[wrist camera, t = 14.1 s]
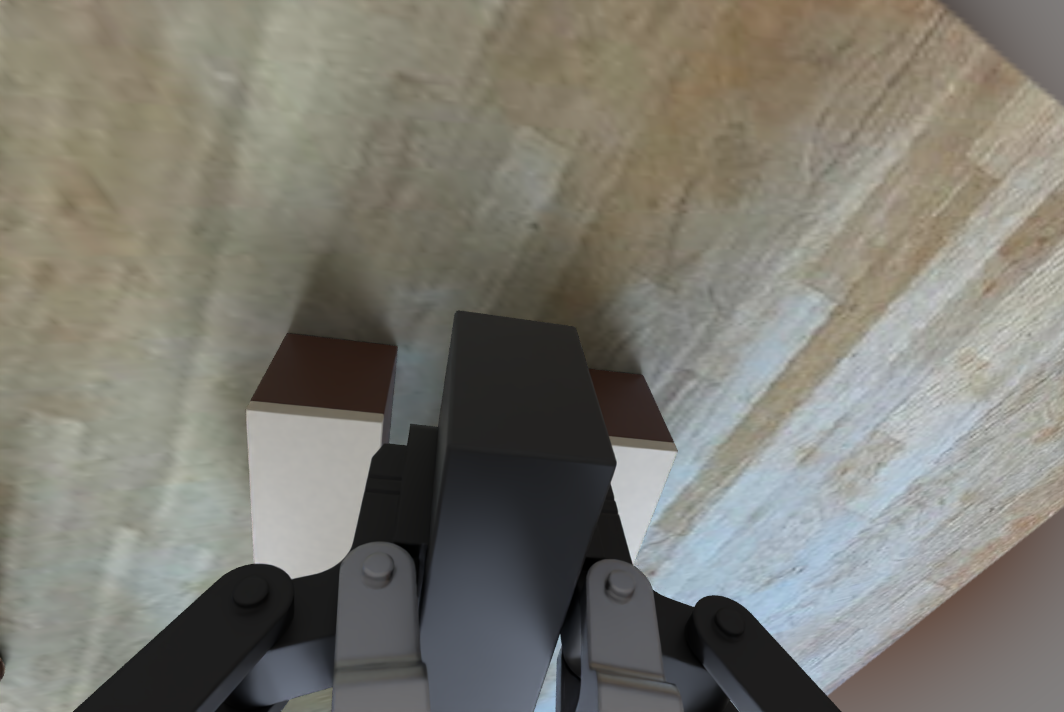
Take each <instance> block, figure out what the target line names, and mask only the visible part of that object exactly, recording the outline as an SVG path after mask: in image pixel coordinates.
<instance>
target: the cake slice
mask: <svg viewBox="0 0 1064 712" xmlns="http://www.w3.org/2000/svg"><path fill="white" fill-rule="evenodd" d="M397 351H398V347H397V346H393V345H384V344H376V343H367V342H359V341H350V340H342V339H333V338H325V337H316V336H308V335H299V334H291V333H287V334H286V336H285V338H284V339H283V341H282V343H281V345H280V347H279V349H278V351H277V352H276V354H275V356H274V358H273V360H272V362H271V364H270V365H269V367H268V369H267V371H266V373H265V375H264V376H263V378H262V380H261V382H260V384H259V386H258V388H257V389H256V391H255V393H254V395H253V397H252V399H251V401H250V403H249V404H248V406H247V408H246V425H247V444H248V463H249V482H250V501H251V520H252V539H253V558H254V564H260V563H261V564H269V565H274V566H276V567H279V568H281V569H282V570H284V571H285V572H286V573H287V574H288V575H289V576H290V578H291V579H294V578H299V577H303V576H308V575H313V574H317V573H321V572H323V571H326V570H328V569H330V568H332V567H334V566H335V565H336V564H338V563H339V562H340V561H341V560H342V559H344V558H345V556H346V555H347V554H348V552H349V551H350V549H351V547H352V543H353V540H354V535H355V531H356V526H357V522H358V517H359V513H360V508H361V504H362V499H363V495H364V491H365V486H366V481H367V478H368V472H369V468H370V463H371V459H372V457H373V456H374V454H375V453H376V452H377V451H378V450H379V449H380V448H381V447H382V446H383V444H384V443H386V444H389V439H390V428H391V417H392V406H393V395H394V384H395V373H396V362H397Z"/></svg>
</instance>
